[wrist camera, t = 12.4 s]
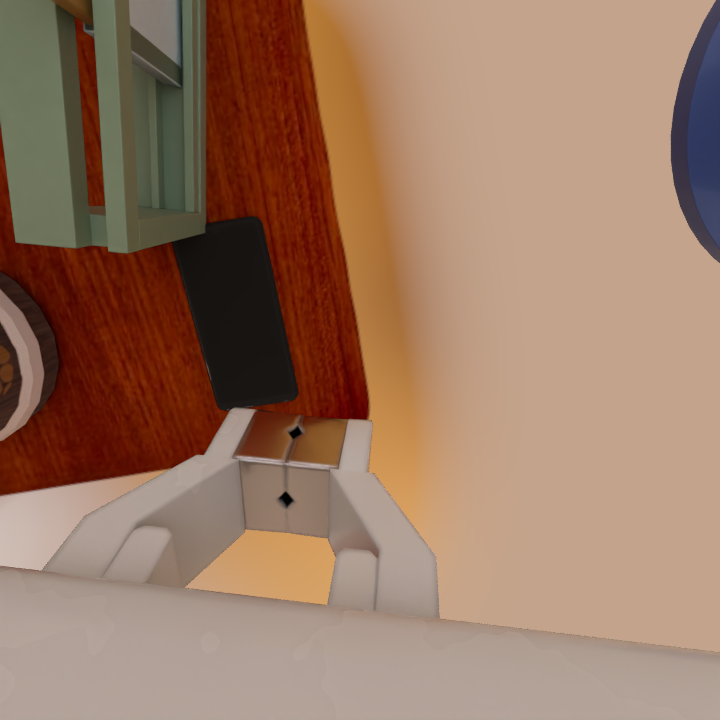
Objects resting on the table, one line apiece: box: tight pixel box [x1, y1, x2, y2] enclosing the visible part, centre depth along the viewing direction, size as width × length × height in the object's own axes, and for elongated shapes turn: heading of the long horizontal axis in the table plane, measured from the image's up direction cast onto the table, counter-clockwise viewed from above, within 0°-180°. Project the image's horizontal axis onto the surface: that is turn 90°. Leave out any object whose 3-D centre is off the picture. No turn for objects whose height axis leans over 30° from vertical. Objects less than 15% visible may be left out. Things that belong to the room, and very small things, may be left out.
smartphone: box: [172, 216, 298, 411], centre depth 37 cm, size 7×1×15 cm
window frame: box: [0, 0, 206, 253], centre depth 25 cm, size 5×22×14 cm, turn 174°
